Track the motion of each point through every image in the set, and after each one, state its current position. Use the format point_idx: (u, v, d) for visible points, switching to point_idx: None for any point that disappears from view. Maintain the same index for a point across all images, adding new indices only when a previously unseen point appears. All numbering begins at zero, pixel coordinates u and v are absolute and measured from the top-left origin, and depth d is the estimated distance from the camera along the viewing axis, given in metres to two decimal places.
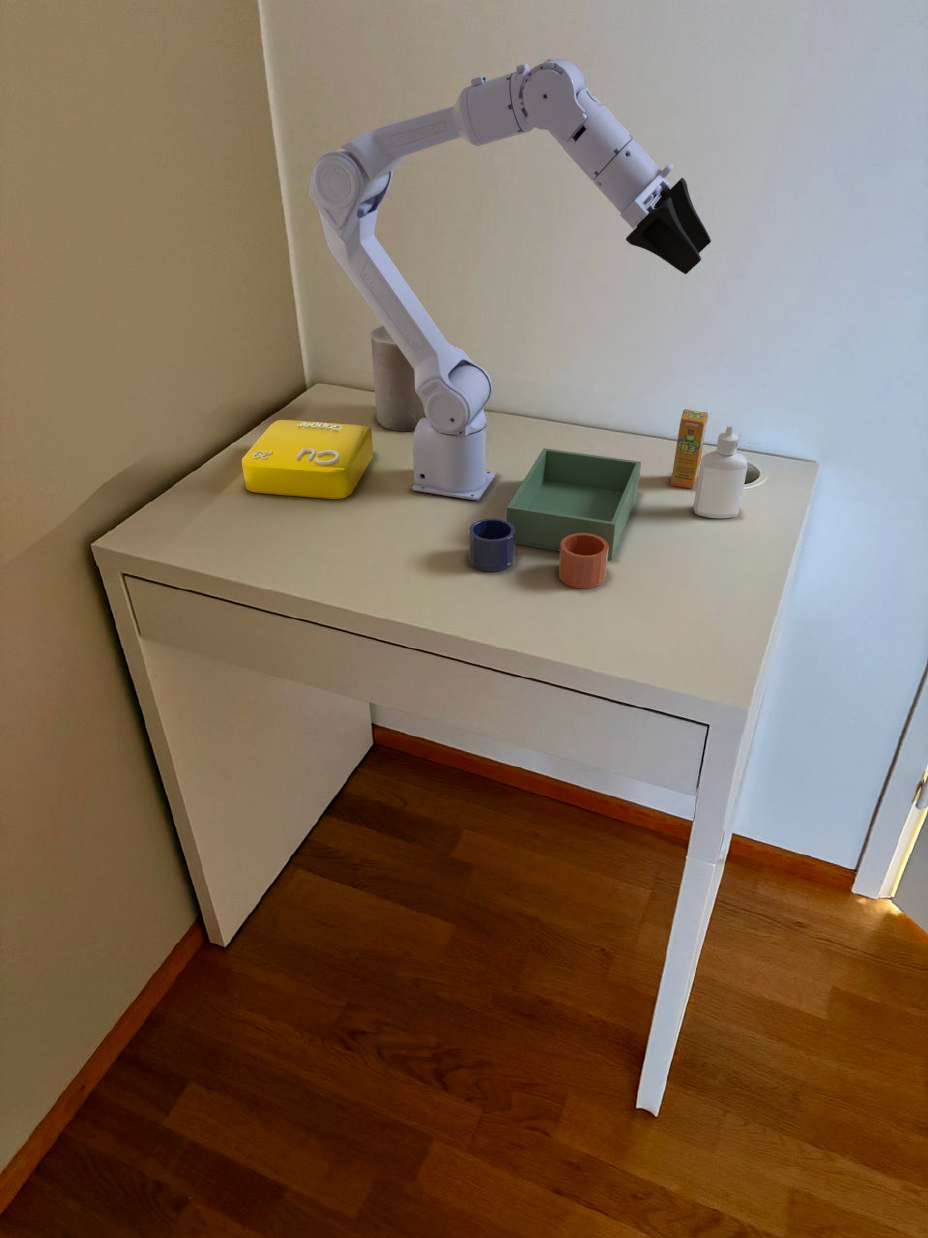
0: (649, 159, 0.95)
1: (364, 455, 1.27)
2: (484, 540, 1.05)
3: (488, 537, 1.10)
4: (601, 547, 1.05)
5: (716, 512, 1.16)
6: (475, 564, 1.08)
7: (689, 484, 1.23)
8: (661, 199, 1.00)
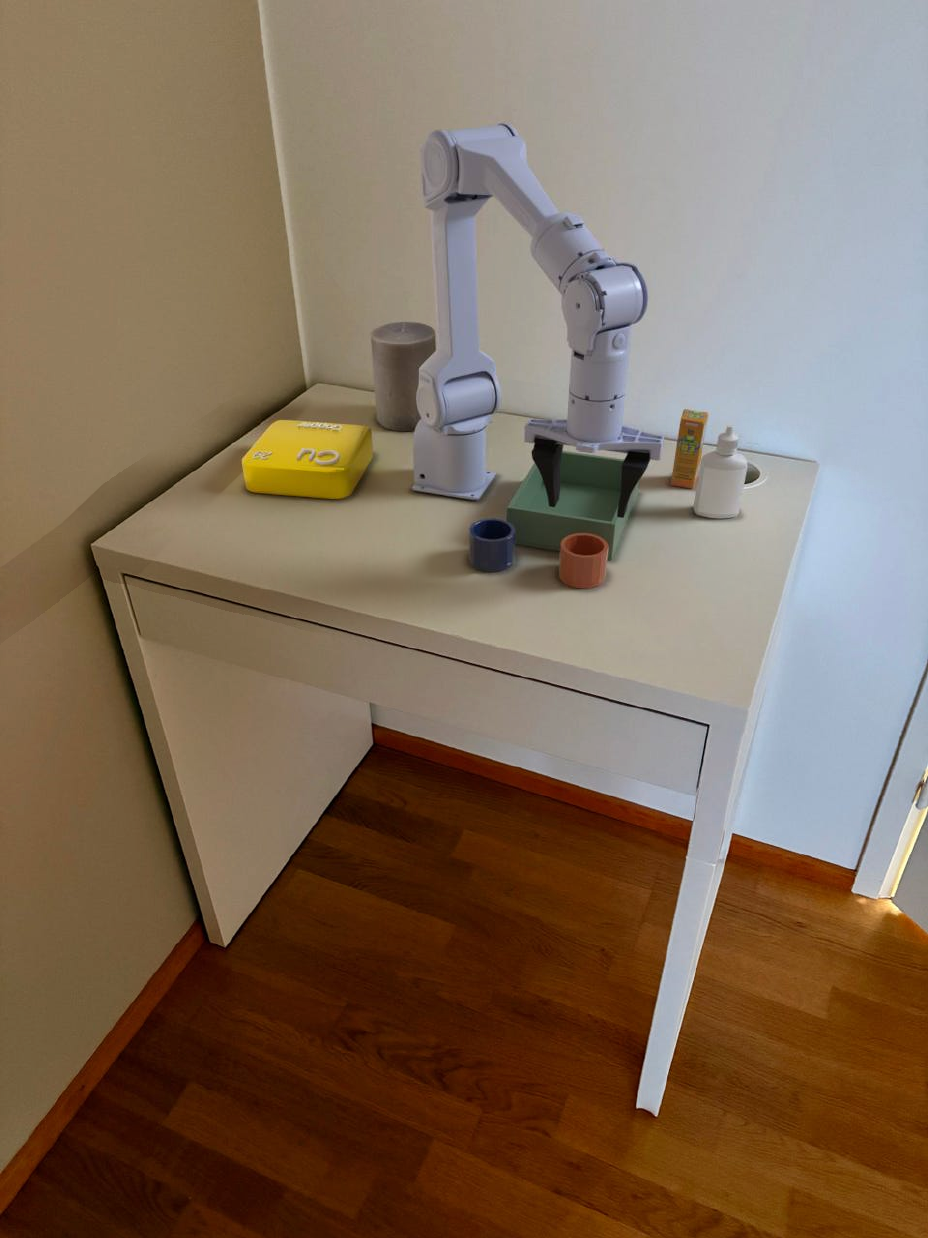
0: (586, 425, 0.93)
1: (364, 455, 1.27)
2: (484, 540, 1.05)
3: (488, 537, 1.10)
4: (601, 547, 1.05)
5: (716, 512, 1.16)
6: (475, 564, 1.08)
7: (689, 484, 1.23)
8: (628, 454, 0.96)
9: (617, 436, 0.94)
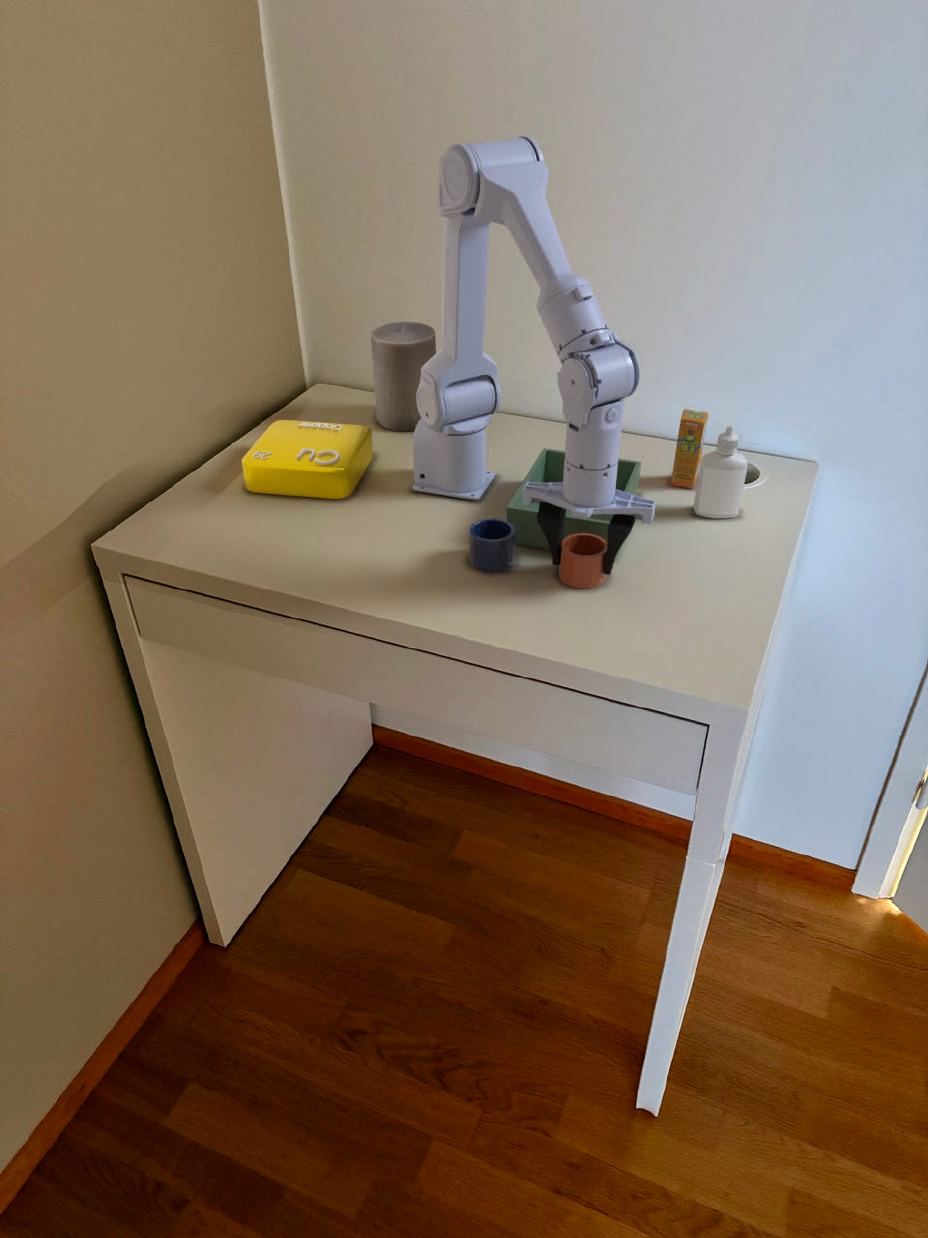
0: (580, 492, 0.97)
1: (364, 455, 1.27)
2: (484, 540, 1.05)
3: (488, 537, 1.10)
4: (601, 547, 1.05)
5: (716, 512, 1.16)
6: (475, 564, 1.08)
7: (689, 484, 1.23)
8: None
9: (610, 501, 0.99)
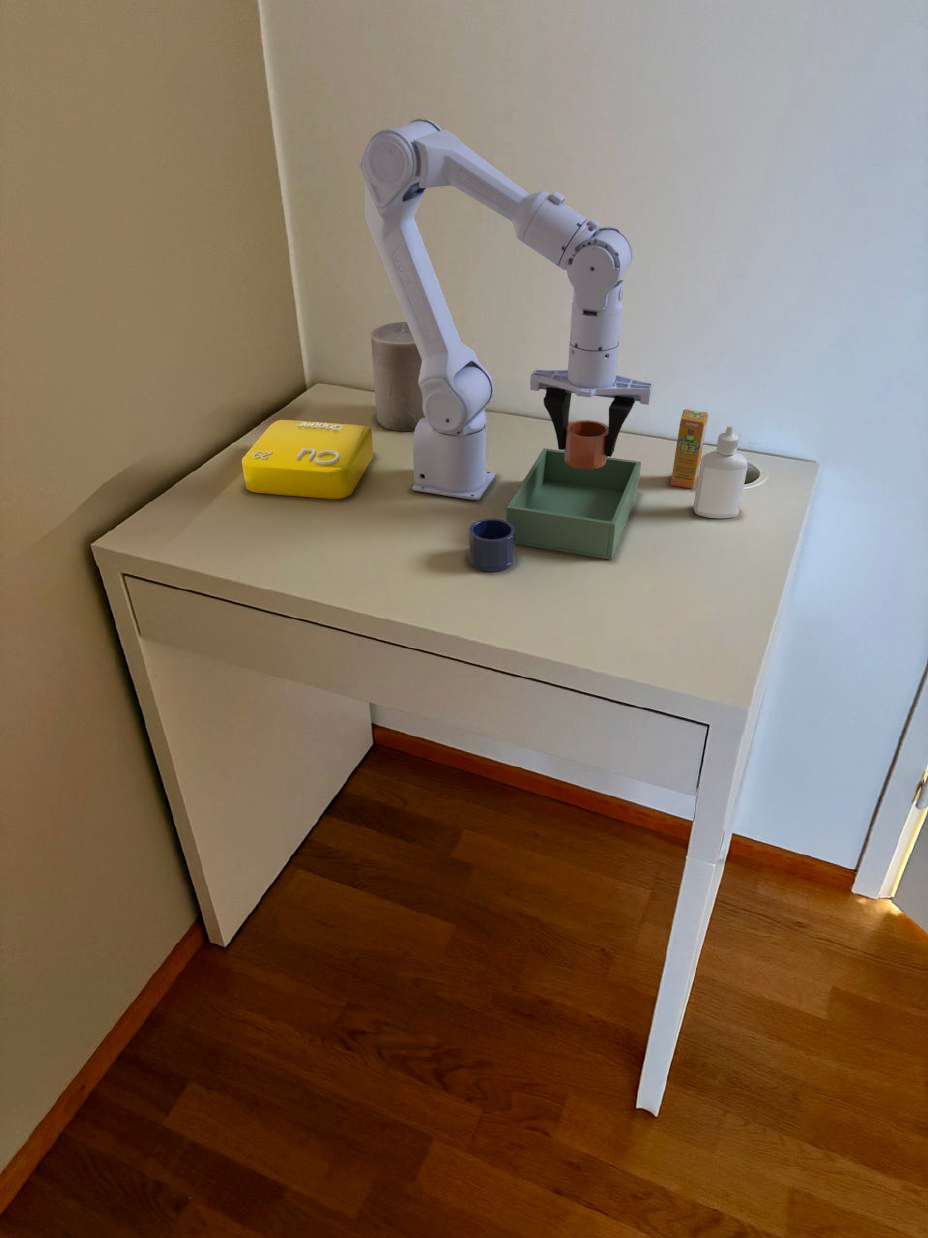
0: (584, 373, 1.06)
1: (365, 455, 1.27)
2: (484, 540, 1.05)
3: (488, 537, 1.10)
4: (603, 432, 1.14)
5: (716, 512, 1.16)
6: (475, 564, 1.08)
7: (689, 484, 1.23)
8: None
9: (611, 383, 1.08)
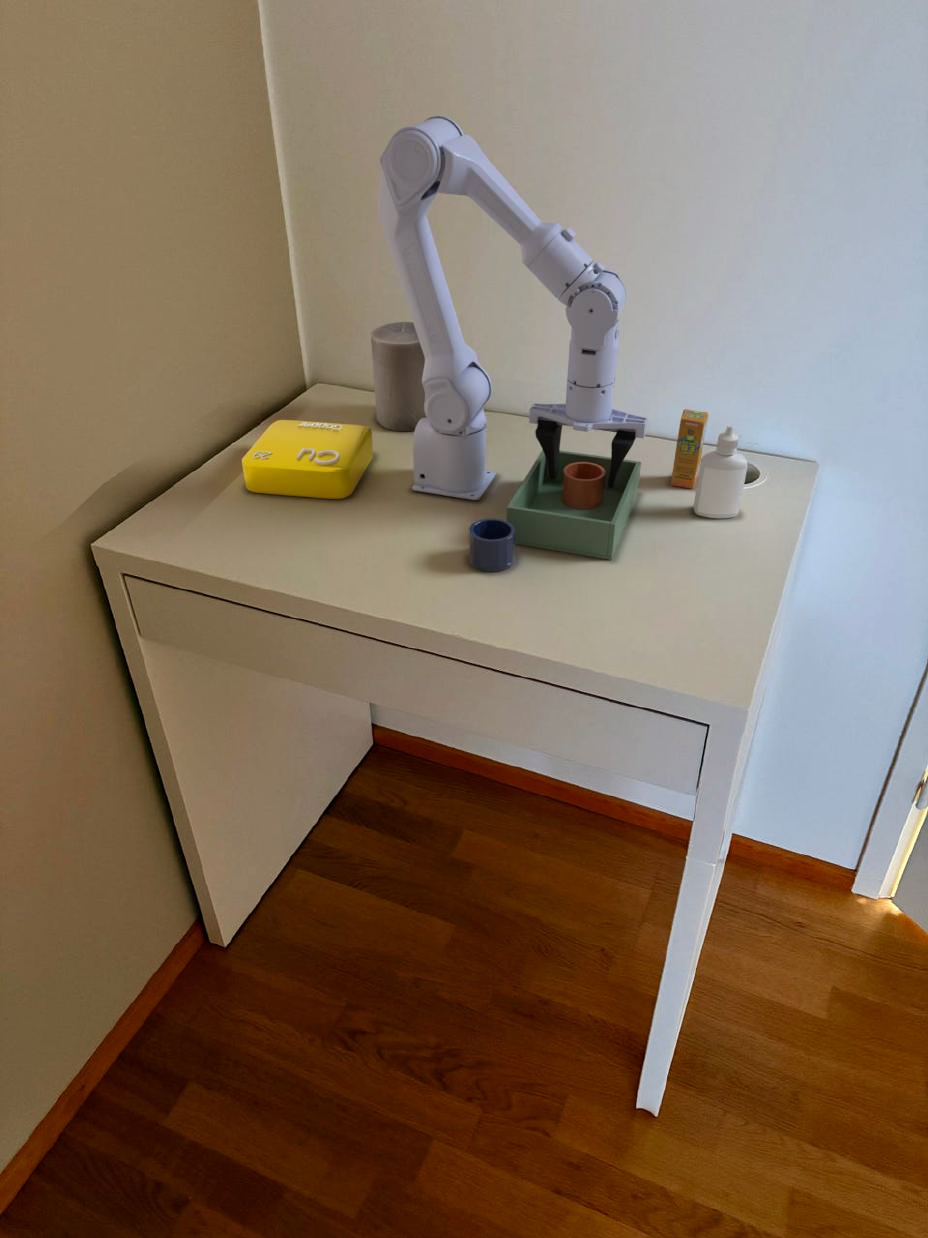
0: (581, 408, 1.10)
1: (365, 455, 1.27)
2: (484, 540, 1.05)
3: (488, 537, 1.10)
4: (599, 473, 1.19)
5: (716, 512, 1.16)
6: (475, 564, 1.08)
7: (689, 484, 1.23)
8: (617, 433, 1.13)
9: (608, 417, 1.12)
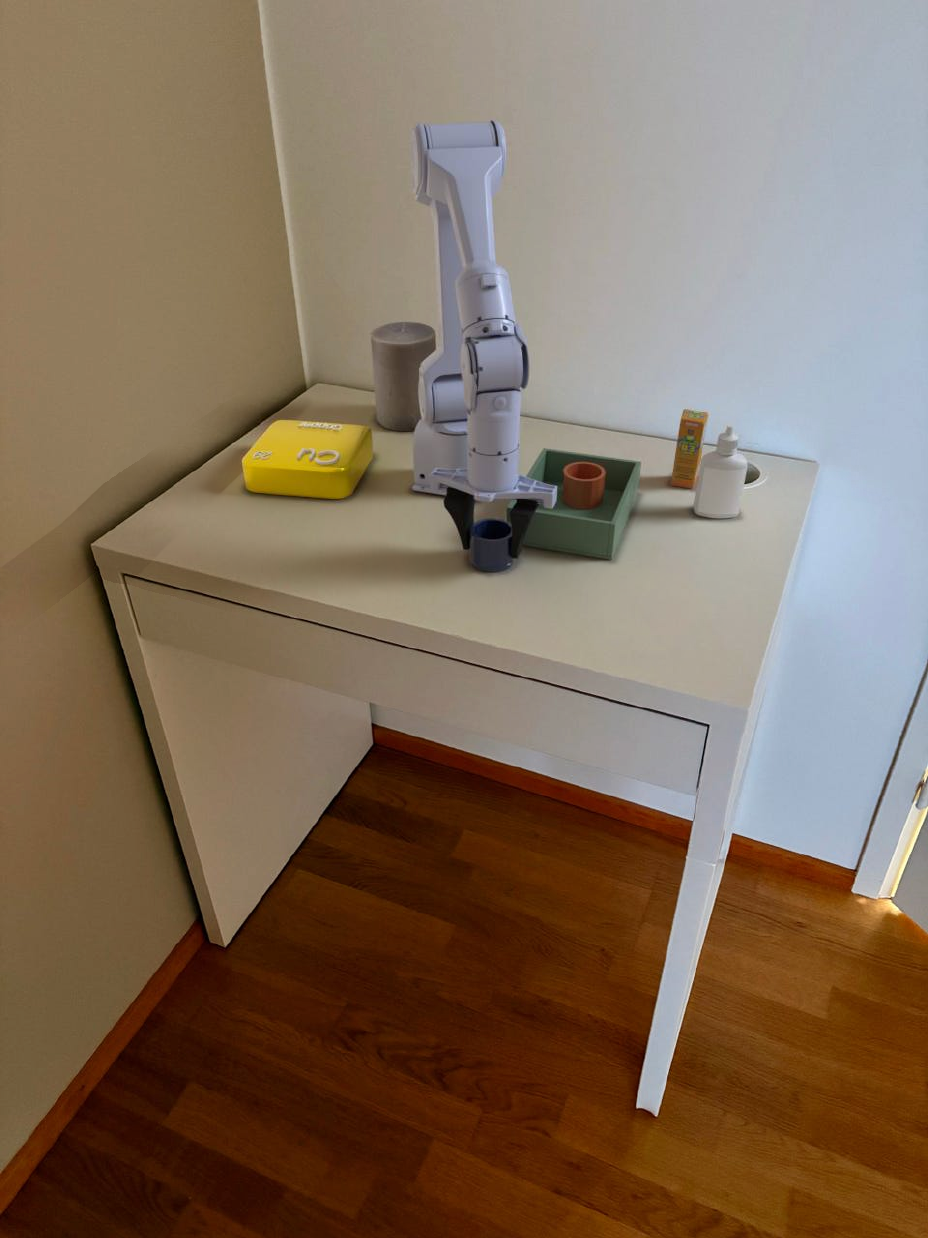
0: (482, 477, 1.00)
1: (365, 455, 1.27)
2: (484, 540, 1.05)
3: (488, 537, 1.10)
4: (599, 473, 1.19)
5: (716, 512, 1.16)
6: (475, 564, 1.08)
7: (689, 484, 1.23)
8: None
9: (513, 486, 1.02)
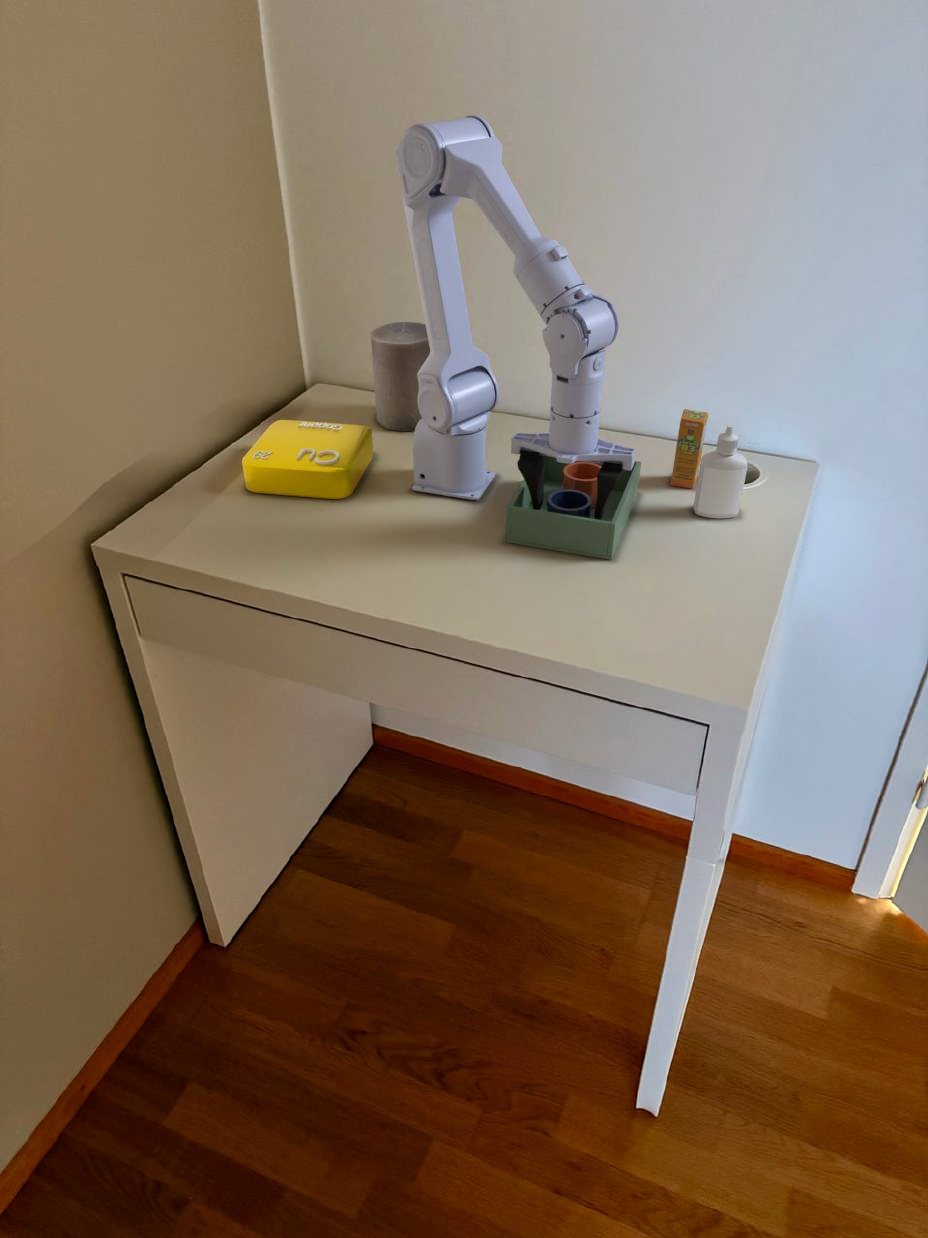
0: (565, 439, 1.04)
1: (365, 455, 1.27)
2: (563, 509, 1.10)
3: (563, 507, 1.15)
4: None
5: (716, 512, 1.16)
6: None
7: (689, 484, 1.23)
8: (603, 464, 1.08)
9: (593, 449, 1.06)
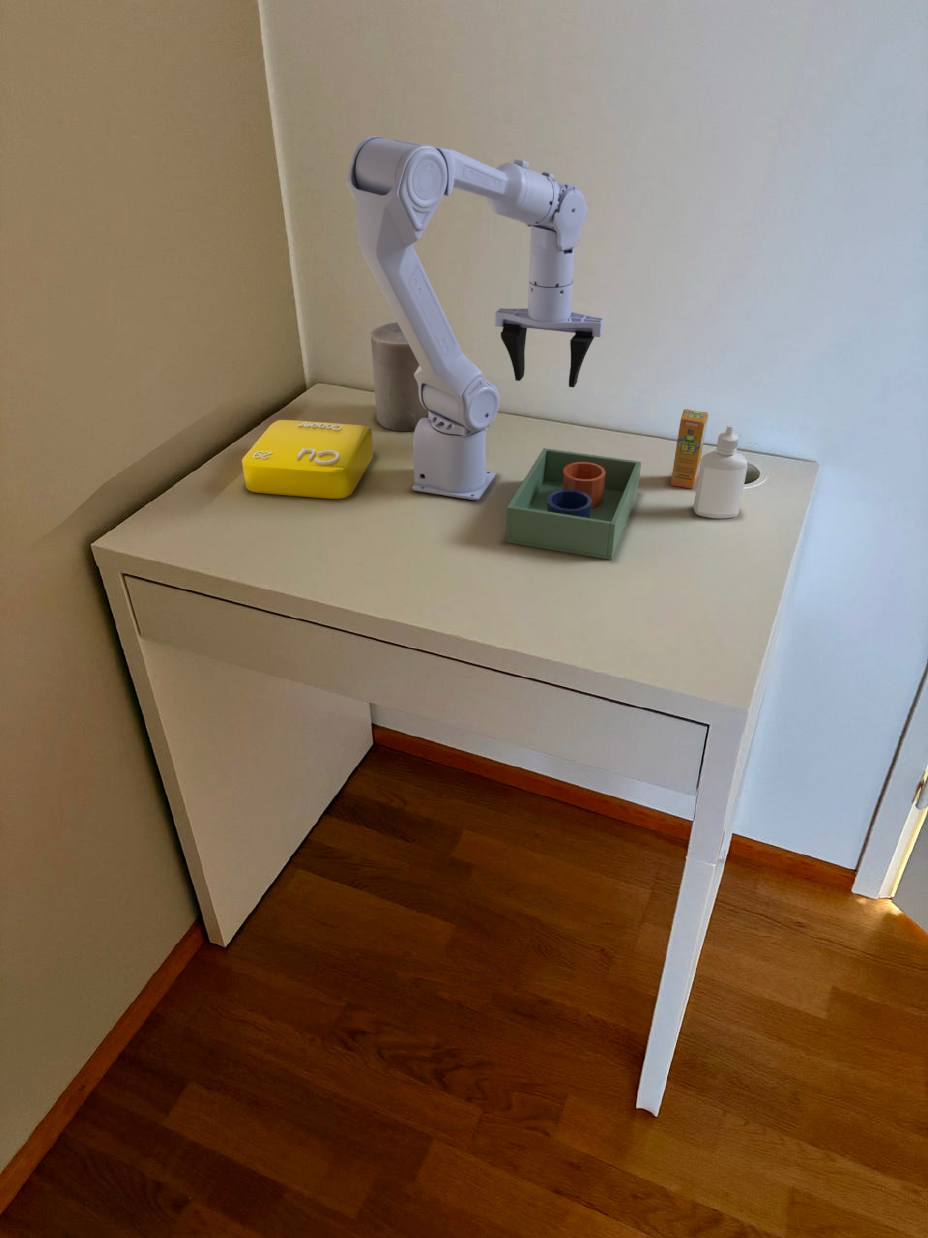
0: None
1: (365, 455, 1.27)
2: (563, 509, 1.10)
3: (563, 507, 1.15)
4: (599, 473, 1.19)
5: (716, 512, 1.16)
6: None
7: (689, 484, 1.23)
8: (521, 328, 1.25)
9: None
